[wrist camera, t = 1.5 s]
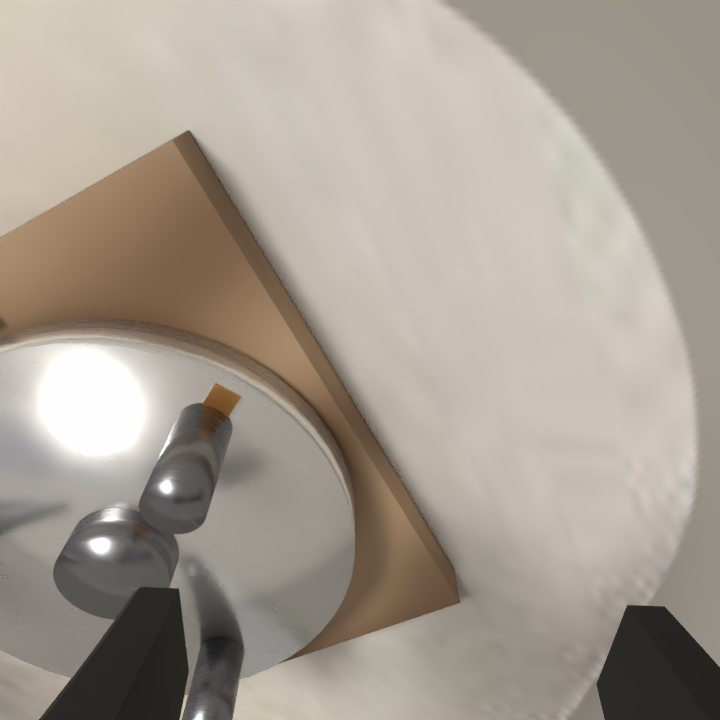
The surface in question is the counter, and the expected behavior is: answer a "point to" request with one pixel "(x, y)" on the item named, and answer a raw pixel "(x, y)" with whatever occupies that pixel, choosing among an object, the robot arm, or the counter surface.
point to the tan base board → (223, 343)
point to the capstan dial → (164, 500)
